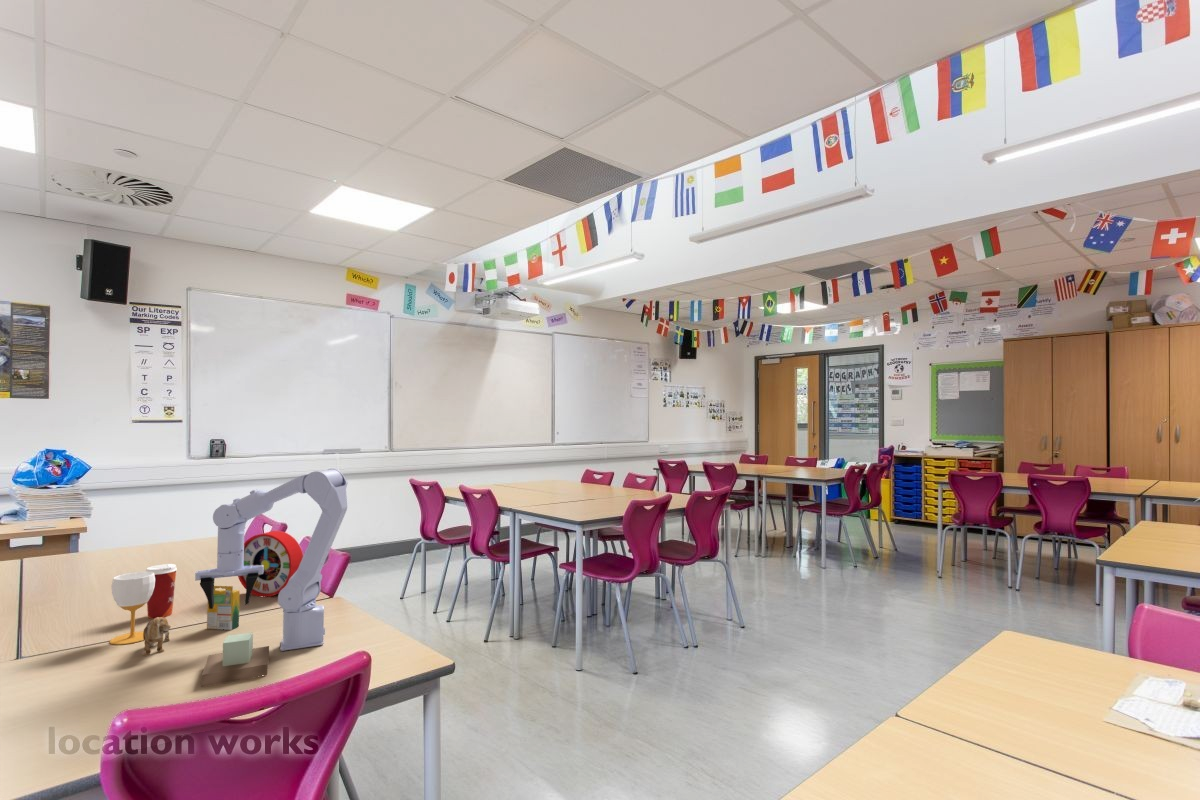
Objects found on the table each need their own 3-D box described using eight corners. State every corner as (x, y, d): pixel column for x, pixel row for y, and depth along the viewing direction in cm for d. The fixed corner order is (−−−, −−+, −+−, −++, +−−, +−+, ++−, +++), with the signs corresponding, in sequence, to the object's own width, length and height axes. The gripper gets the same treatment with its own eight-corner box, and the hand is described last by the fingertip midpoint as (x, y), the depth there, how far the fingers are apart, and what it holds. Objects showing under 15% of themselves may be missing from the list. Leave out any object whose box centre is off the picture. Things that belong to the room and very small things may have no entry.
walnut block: (268, 658, 140) (269, 645, 140) (266, 678, 129) (267, 664, 129) (208, 668, 134) (208, 655, 134) (201, 689, 123) (201, 675, 124)
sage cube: (252, 654, 135) (252, 632, 135) (248, 662, 130) (249, 639, 130) (227, 657, 133) (227, 635, 133) (222, 666, 128) (222, 643, 128)
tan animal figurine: (170, 655, 140) (171, 617, 141) (142, 661, 137) (143, 622, 137) (170, 637, 152) (170, 602, 152) (144, 642, 149) (145, 606, 149)
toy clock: (235, 595, 189) (236, 533, 190) (249, 590, 195) (250, 529, 195) (291, 598, 186) (292, 534, 186) (303, 593, 191) (304, 531, 192)
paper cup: (181, 614, 171) (182, 565, 171) (150, 621, 164) (151, 571, 165) (169, 609, 175) (170, 562, 175) (138, 616, 168) (139, 567, 169)
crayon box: (239, 626, 160) (240, 583, 161) (231, 630, 157) (232, 586, 158) (214, 625, 161) (215, 582, 162) (206, 629, 158) (207, 585, 159)
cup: (102, 641, 150) (104, 577, 150) (143, 630, 158) (144, 569, 158) (120, 647, 145) (122, 581, 146) (161, 635, 153) (163, 573, 154)
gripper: (193, 557, 142) (192, 614, 142) (262, 551, 148) (261, 606, 148) (198, 551, 148) (197, 606, 148) (264, 546, 155) (263, 598, 154)
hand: (229, 605), depth 148 cm, fingers open, 7 cm apart
